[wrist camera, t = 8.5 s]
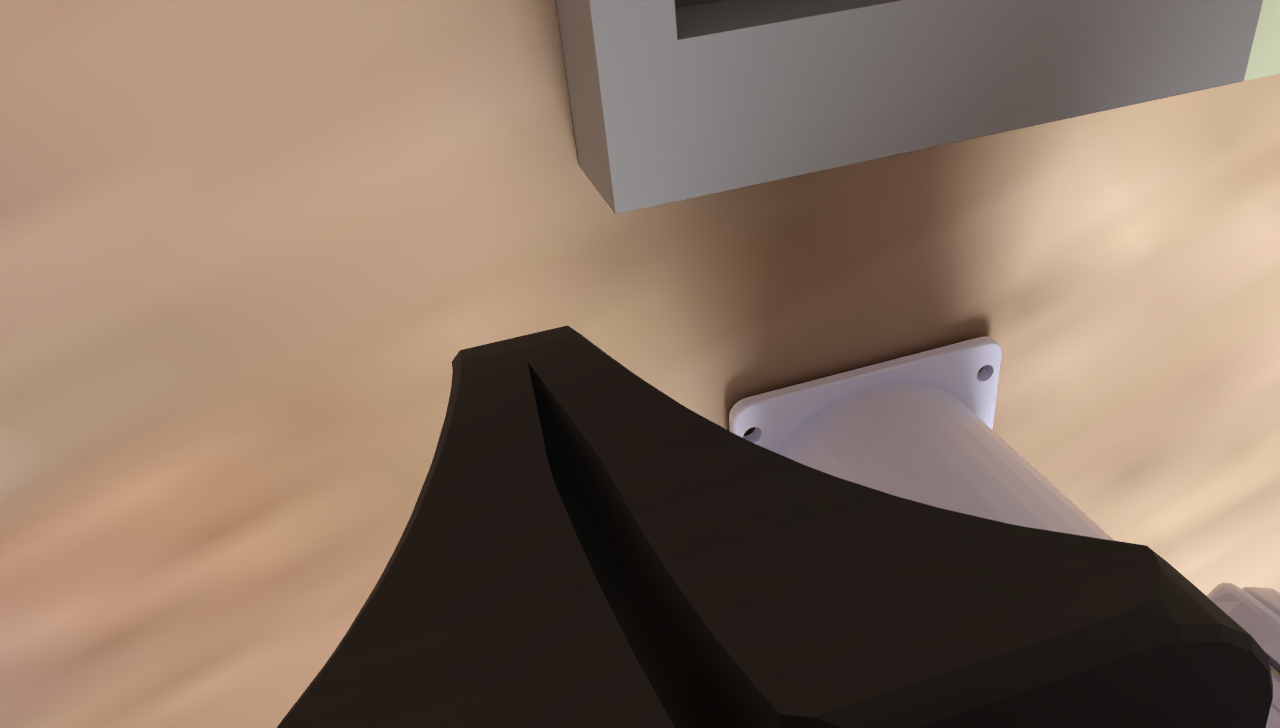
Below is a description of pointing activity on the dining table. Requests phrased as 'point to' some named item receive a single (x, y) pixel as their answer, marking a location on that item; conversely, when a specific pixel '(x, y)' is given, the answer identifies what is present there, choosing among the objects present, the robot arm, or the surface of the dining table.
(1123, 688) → the robot arm
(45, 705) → the dining table surface
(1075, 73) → the trap deck
